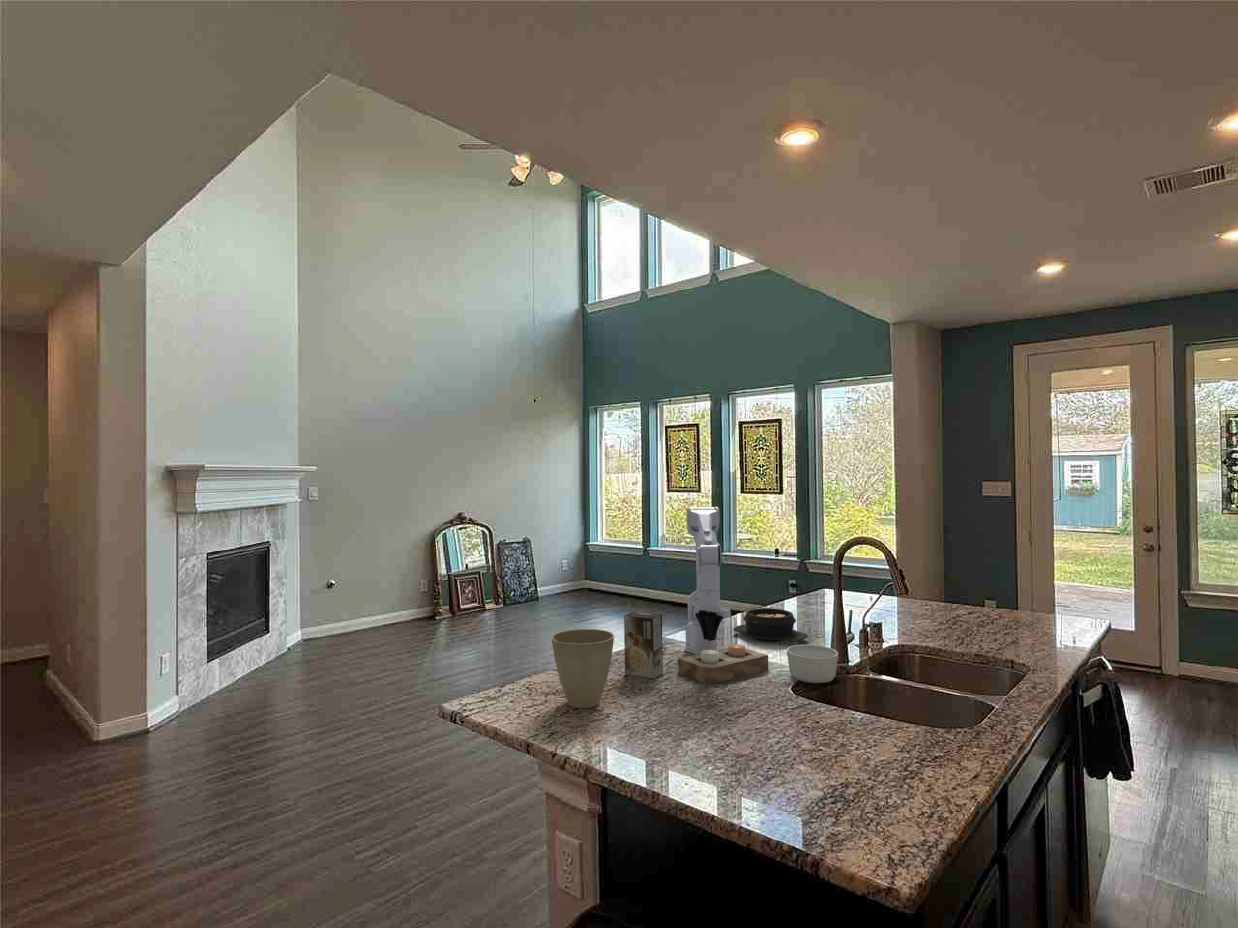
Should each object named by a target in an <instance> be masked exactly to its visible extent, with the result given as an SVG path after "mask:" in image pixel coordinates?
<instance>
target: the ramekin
mask: <svg viewBox="0 0 1238 928" xmlns="http://www.w3.org/2000/svg"><path fill="white" fill-rule="evenodd" d="M786 655H787V661H788V670H789V673H790V675H791V676H792V677H793V678H794V679H795V680H798V681H800V682H803V683H804V682H805V683H811V684H821V683H822V684H824V683H829V682H832V681H833V680H834V679H835V677H836V673H837V665H838V660H839V652H838V651H837V650H836V649H834V648H831V647H828V646H823V645H818V644H797V645H791V646H788V647H787V648H786Z"/></svg>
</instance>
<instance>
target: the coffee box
mask: <svg viewBox="0 0 1238 928" xmlns="http://www.w3.org/2000/svg"><path fill="white" fill-rule="evenodd" d="M623 633H624V634H623V636H624V637H623V640H624V674H625V675H626V676H633V677H638V678H639V677H640V678H647V679H653V680H654V679H656V678H659V676H661V675H662V674H663V673H664V662H663V661H664V659H663V657H664V655H663V654H664V653H663V613H662V614H661V613H652V612H644V611H643V612H642V611H635V610H634V611H631V612H629V613H626V614H625V615H623Z"/></svg>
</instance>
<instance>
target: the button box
mask: <svg viewBox="0 0 1238 928" xmlns="http://www.w3.org/2000/svg"><path fill="white" fill-rule="evenodd" d="M715 651H718V652H719V662H717V663H713V664H707V663H704V662H701V654H696V655H695V654H693V655H688V656H682V657H678V659H677V660H678V674H680V675H682V676H685V677H688V678H691V680H692V679H693V680H695V681H698V682H701V683H702V684H706V685H713V684H716V683H721V682H725V681H728V680H729V681H730V680H733V679H737V678H740V677H741V678H742V677H744V676H748V675H752V674H753V675H754V674H758V673H760V672H764V671H769V655H768V654H766V653H762V652H759V651H756V650H752V649H749V648H746V656H744V657H739V658H735V657H732V656H729V655H728V647H726V648H720V649H717V650H715Z"/></svg>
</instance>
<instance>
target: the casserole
mask: <svg viewBox="0 0 1238 928" xmlns="http://www.w3.org/2000/svg"><path fill="white" fill-rule="evenodd" d="M742 619H743V621H744V623H745V624H741V625H737V626H735V627H733V628H732V630H733V631H734V632H736V633H739V634H741V635H744V636H745V637H749V638H751V639H753V640H756V641H760V642H765V643H766V642H767V643H779V642H780V643H781V642H786V643H787V642H790V643H792V642H798V641H799V642H800V641H802V640H805V639H807V638H808V634H807V633H804V632H802V631H798V630H796V629H794V625H795V623H796V622H797V619H796V618H795V617H794V614H793V612H791V611H789V610H784V609H780V608H770V607H768V608H767V607H766V608H754V609H750V610H749V609H748V610H747V611H746V612H745V615H744V616H743V618H742Z"/></svg>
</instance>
